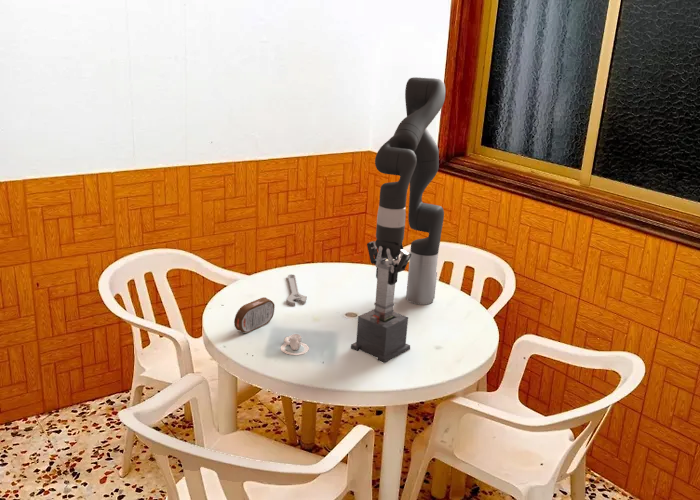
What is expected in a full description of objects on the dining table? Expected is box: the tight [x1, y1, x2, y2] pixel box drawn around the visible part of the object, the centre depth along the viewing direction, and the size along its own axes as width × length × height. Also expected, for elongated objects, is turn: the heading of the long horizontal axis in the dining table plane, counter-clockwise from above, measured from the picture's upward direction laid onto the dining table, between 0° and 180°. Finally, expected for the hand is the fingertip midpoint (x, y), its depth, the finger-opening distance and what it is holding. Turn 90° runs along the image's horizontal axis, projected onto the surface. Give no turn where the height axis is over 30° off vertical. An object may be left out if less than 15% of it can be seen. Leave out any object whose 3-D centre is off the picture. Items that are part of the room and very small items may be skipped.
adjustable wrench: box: [286, 274, 307, 307], centre depth 227 cm, size 25×6×2 cm, turn 5°
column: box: [374, 260, 396, 322], centre depth 185 cm, size 4×4×19 cm
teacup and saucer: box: [280, 333, 310, 356], centre depth 188 cm, size 9×8×4 cm
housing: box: [350, 308, 411, 364], centre depth 189 cm, size 12×12×11 cm
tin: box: [233, 296, 276, 334], centre depth 197 cm, size 15×3×8 cm, turn 144°
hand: (386, 281), depth 184 cm, fingers closed on column, 3 cm apart
